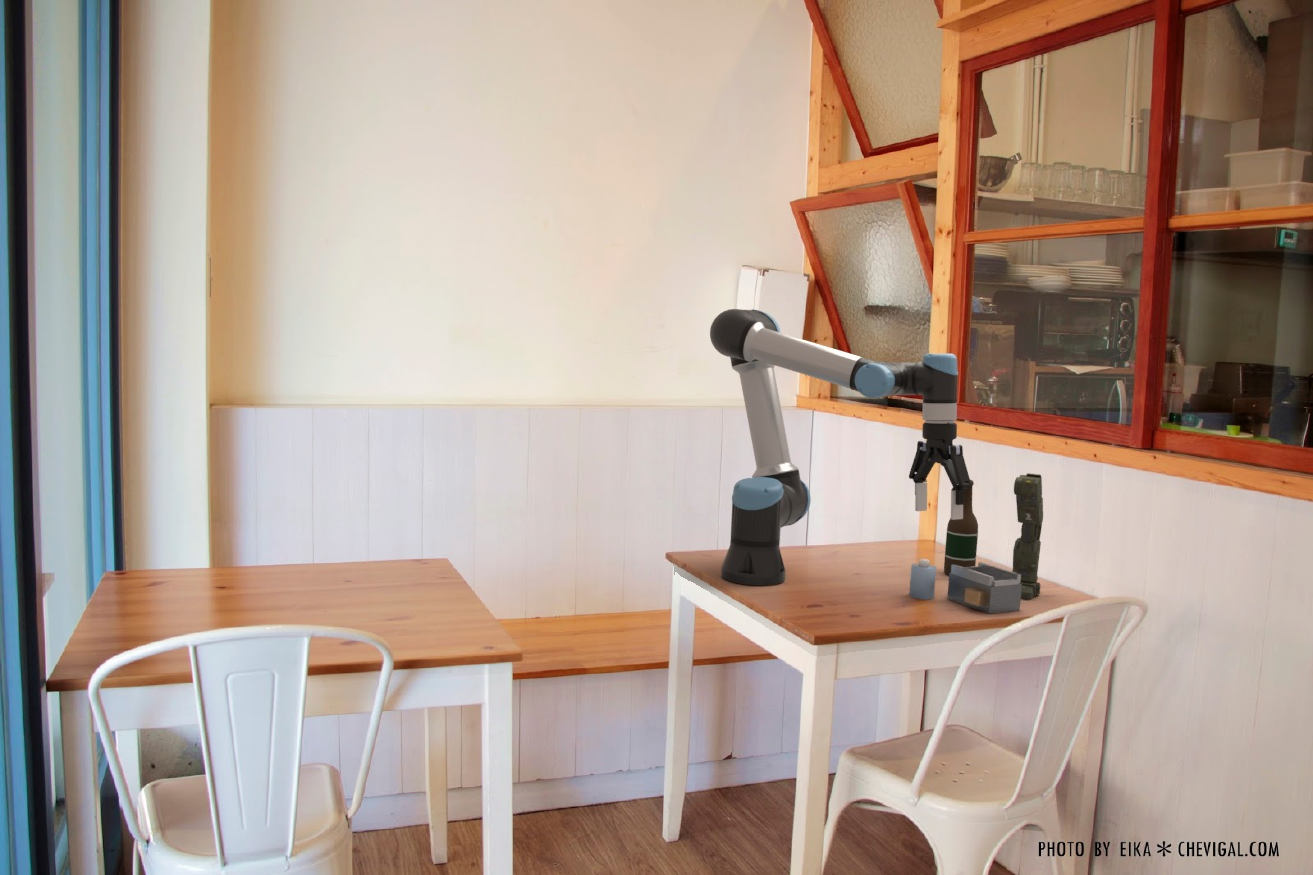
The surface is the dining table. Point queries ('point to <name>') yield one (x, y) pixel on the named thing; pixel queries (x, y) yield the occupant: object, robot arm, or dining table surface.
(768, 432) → the robot arm
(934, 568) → the light blue bottle
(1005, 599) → the open grey metal box
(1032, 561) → the mechanical leg
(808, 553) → the dining table surface
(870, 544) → the dining table surface
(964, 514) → the beer bottle
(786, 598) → the dining table surface
